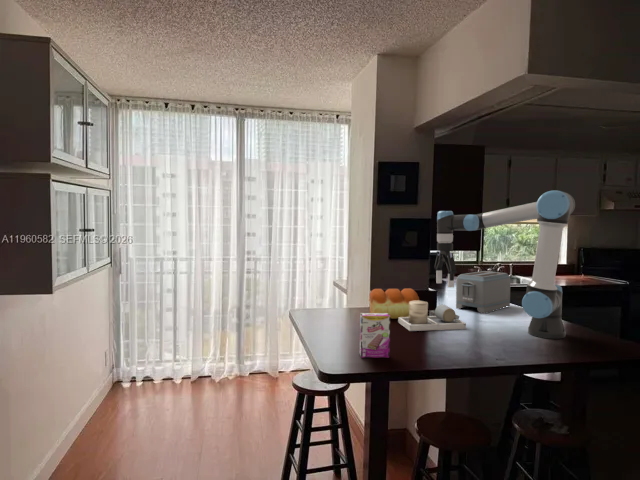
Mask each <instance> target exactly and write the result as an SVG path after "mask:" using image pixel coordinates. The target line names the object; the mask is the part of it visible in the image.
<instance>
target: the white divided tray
mask: <svg viewBox="0 0 640 480" xmlns="http://www.w3.org/2000/svg"><path fill="white" fill-rule="evenodd" d="M397 323H398V324H400V325H401V326H403V327H404V328H405V329H406V330H408V331H409V332H417V331H419V332H420V331H421V332H422V331H441V330H442V331H443V330H444V331H445V330H466V329H467V322H464V321H462V320H460V319H454V320H453V321H452V322H445V321H443V320H440V319H438V318H437V317H436V316H429V315H428V322H427V324H419V325H416V324H411V323H409V317H398V318H397Z"/></svg>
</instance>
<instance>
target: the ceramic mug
mask: <svg viewBox="0 0 640 480" xmlns="http://www.w3.org/2000/svg"><path fill="white" fill-rule="evenodd" d="M434 310H435V315H436V317H437V318H438V319H440V320H443V321H445V322H452V321H453V320H454V319H458V320H460V316H459V315H458V314H456V312H455V310H454V309H453V308H451V307H450V306H448V305H446V304H439V305H437V306H436V307H435V309H434Z"/></svg>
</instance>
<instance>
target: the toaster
mask: <svg viewBox="0 0 640 480" xmlns="http://www.w3.org/2000/svg"><path fill="white" fill-rule="evenodd" d="M455 281H456V286H455V287H456V290H455V303H456V304H455V309H457V308H459V309H458V310H462V309H461V308H463V309H467V308H470V307H471V308H477V309H476V310H477V312H478V313H480V314H487V313H486V312H488V313H491V312H494V311H493V310H495V311H497V310H496V309H499V310H501V309H500V308H503V307H506V306H511V276H510V275H509V273H507V272H498V271H489V270H487V271H486V270H482V271H481V270H479V271H475V272H469V273H467V272H466V273H461V274H459V275H458V276H457V277H456V280H455ZM466 307H467V308H466ZM503 309H504V308H503ZM490 311H491V312H490Z"/></svg>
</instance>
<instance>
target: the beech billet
mask: <svg viewBox="0 0 640 480" xmlns="http://www.w3.org/2000/svg"><path fill="white" fill-rule="evenodd" d="M428 309H429V302H428V301H426V300H425V301H424V300H419V301H410V302H409V323H411V324H416V325H419V324H427V322H428V316H429V315H428V314H429V313H428V312H429V310H428Z"/></svg>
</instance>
